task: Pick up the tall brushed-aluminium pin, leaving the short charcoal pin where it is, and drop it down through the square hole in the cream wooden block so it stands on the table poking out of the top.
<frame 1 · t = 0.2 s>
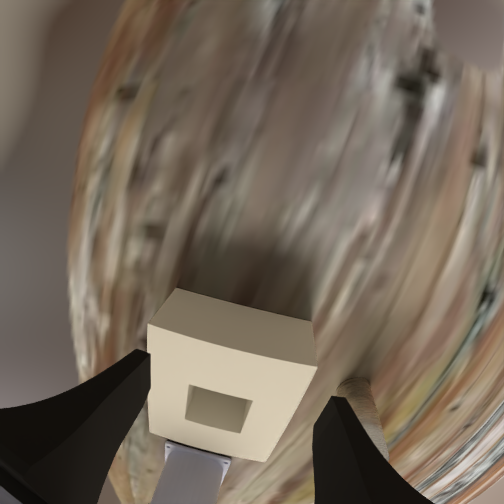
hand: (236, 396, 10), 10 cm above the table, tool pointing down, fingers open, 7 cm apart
long pin: (353, 389, 22), on the table
hole block: (228, 366, 22), on the table
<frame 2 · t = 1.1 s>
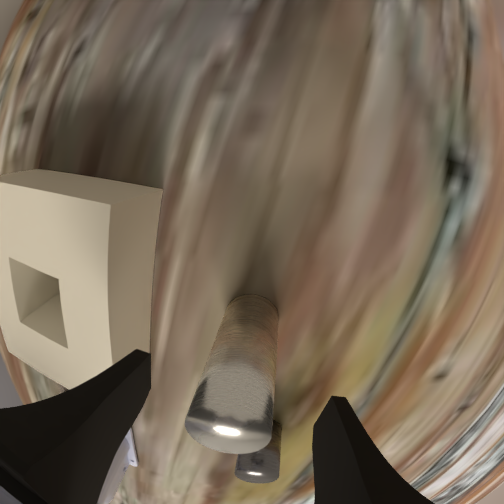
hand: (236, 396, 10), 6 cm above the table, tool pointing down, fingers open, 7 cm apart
short pin: (262, 428, 19), on the table
long pin: (251, 318, 16), on the table
hole block: (85, 269, 16), on the table
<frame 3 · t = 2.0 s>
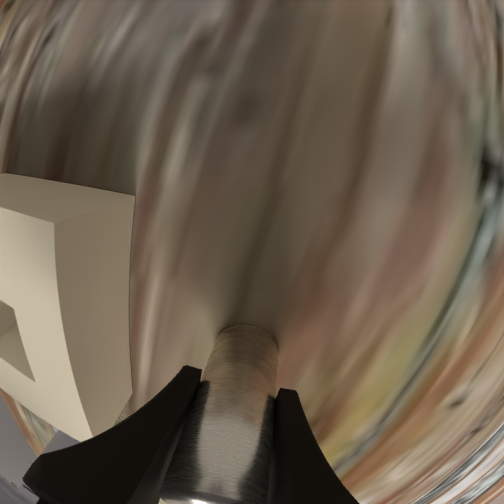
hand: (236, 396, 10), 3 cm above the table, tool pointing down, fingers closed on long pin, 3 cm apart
long pin: (246, 350, 13), on the table, touching gripper
hole block: (56, 288, 13), on the table
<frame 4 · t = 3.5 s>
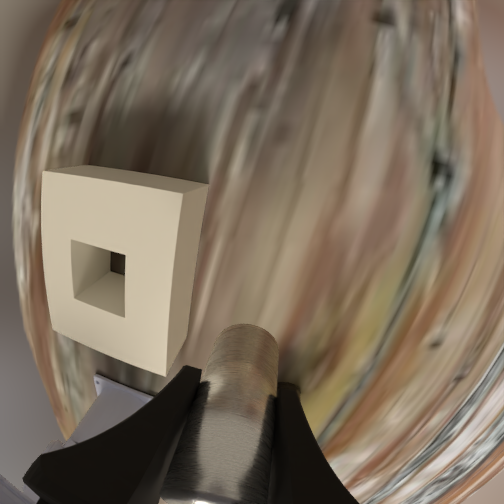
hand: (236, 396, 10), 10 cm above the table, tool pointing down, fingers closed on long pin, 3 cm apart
long pin: (246, 350, 13), point 7 cm above the table, touching gripper
hole block: (133, 252, 20), on the table
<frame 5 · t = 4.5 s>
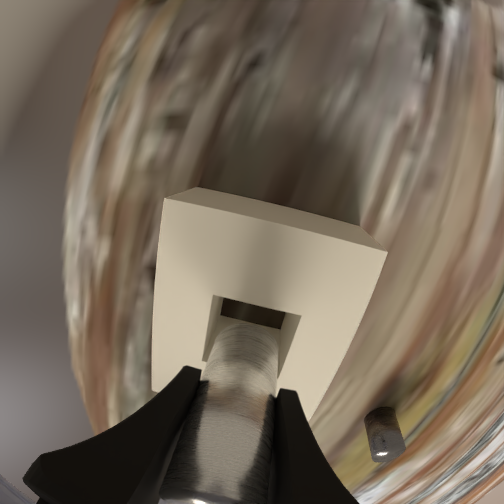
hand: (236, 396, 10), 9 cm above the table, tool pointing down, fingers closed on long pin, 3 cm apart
short pin: (379, 417, 21), on the table
long pin: (246, 349, 13), point 6 cm above the table, touching gripper
hole block: (257, 296, 18), on the table
when the fingers open (6 cm above the table, at t = 5.3 s): long pin drops 3 cm, resting in hole block.
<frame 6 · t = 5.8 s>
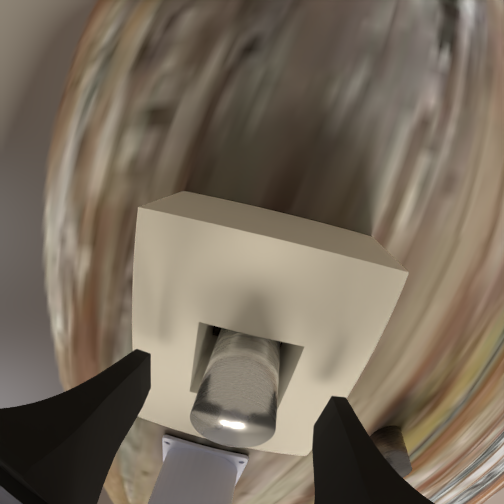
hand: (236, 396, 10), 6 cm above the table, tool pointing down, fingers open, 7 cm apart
short pin: (384, 435, 19), on the table
long pin: (254, 313, 16), resting in hole block
hole block: (253, 314, 16), on the table
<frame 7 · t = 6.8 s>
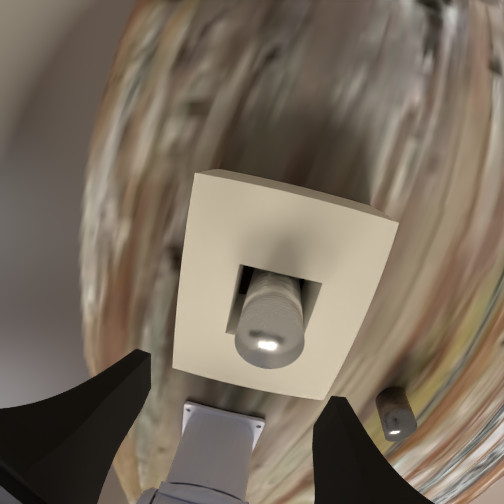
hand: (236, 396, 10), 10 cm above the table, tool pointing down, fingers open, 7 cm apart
short pin: (390, 397, 22), on the table
long pin: (275, 272, 19), resting in hole block
hole block: (274, 273, 19), on the table
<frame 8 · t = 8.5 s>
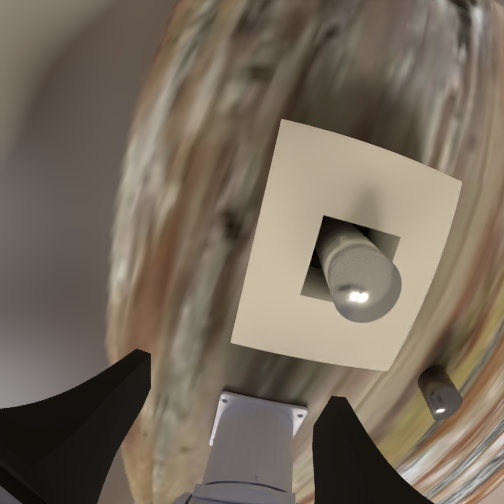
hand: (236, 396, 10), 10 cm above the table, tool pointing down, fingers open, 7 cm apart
short pin: (431, 377, 21), on the table
long pin: (335, 240, 18), resting in hole block
hole block: (334, 240, 18), on the table
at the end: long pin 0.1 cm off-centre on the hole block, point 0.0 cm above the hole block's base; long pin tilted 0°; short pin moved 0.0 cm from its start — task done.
